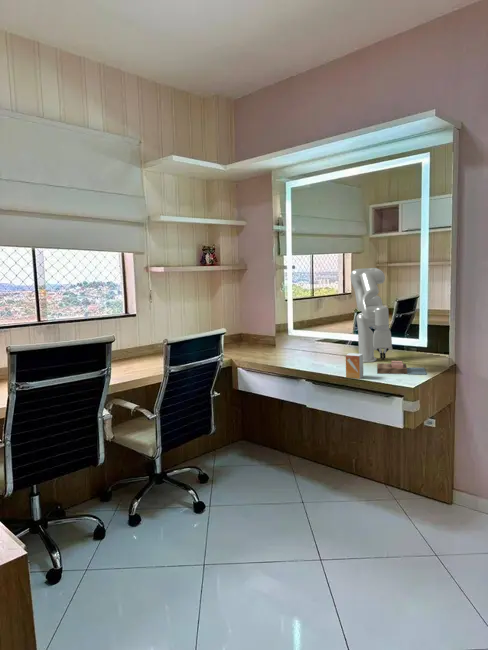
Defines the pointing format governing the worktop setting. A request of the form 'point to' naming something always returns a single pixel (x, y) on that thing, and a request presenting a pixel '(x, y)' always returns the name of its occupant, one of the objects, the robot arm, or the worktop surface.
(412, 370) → the mat
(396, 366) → the tile
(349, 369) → the small box
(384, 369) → the platform
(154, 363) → the worktop surface
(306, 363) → the worktop surface
